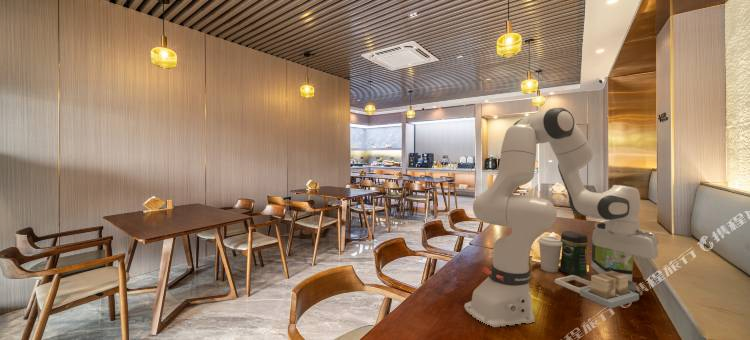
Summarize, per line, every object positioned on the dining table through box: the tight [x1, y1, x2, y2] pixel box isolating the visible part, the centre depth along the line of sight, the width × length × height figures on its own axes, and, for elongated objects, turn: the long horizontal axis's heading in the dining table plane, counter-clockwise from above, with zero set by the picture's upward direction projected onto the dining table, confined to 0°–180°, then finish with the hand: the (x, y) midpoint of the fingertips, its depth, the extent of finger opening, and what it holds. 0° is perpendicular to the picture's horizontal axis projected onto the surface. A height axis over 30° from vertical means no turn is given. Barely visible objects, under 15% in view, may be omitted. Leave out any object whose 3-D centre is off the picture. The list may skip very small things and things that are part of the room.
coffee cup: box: [537, 235, 563, 273], centre depth 132 cm, size 10×10×15 cm
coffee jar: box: [559, 230, 589, 277], centre depth 129 cm, size 10×8×19 cm
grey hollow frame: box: [579, 287, 640, 309], centre depth 105 cm, size 16×10×3 cm, turn 112°
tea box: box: [591, 241, 634, 282], centre depth 128 cm, size 15×10×15 cm
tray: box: [554, 274, 591, 294], centre depth 115 cm, size 11×10×2 cm
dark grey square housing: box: [628, 280, 637, 293], centre depth 113 cm, size 7×7×4 cm
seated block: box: [590, 273, 616, 300], centre depth 104 cm, size 5×5×8 cm
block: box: [604, 271, 628, 296], centre depth 107 cm, size 5×5×8 cm
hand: (622, 263), depth 111 cm, fingers closed
